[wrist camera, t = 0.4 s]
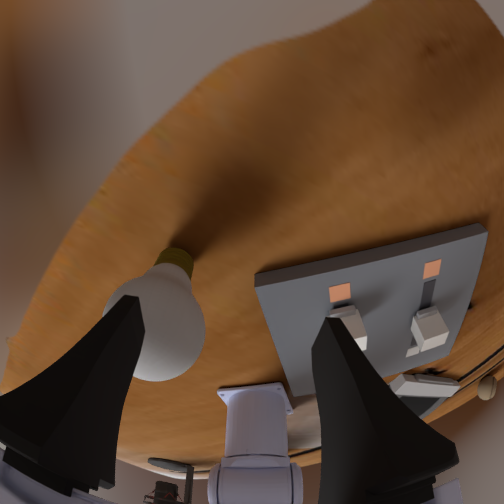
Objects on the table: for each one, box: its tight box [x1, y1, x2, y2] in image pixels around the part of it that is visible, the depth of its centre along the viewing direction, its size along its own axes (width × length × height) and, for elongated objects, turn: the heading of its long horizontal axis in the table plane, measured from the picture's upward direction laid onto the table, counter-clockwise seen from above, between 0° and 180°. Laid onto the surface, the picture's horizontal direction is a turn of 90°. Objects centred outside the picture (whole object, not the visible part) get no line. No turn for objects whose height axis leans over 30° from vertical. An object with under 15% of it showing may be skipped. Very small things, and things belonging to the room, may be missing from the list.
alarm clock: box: [389, 374, 460, 419], centre depth 36 cm, size 17×5×16 cm
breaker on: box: [326, 305, 367, 351], centre depth 20 cm, size 3×3×3 cm
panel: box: [255, 223, 488, 397], centre depth 24 cm, size 18×20×2 cm
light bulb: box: [103, 248, 205, 381], centre depth 16 cm, size 6×6×10 cm
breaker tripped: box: [411, 306, 449, 352], centre depth 21 cm, size 3×3×3 cm
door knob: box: [478, 376, 497, 400], centre depth 35 cm, size 5×5×5 cm
